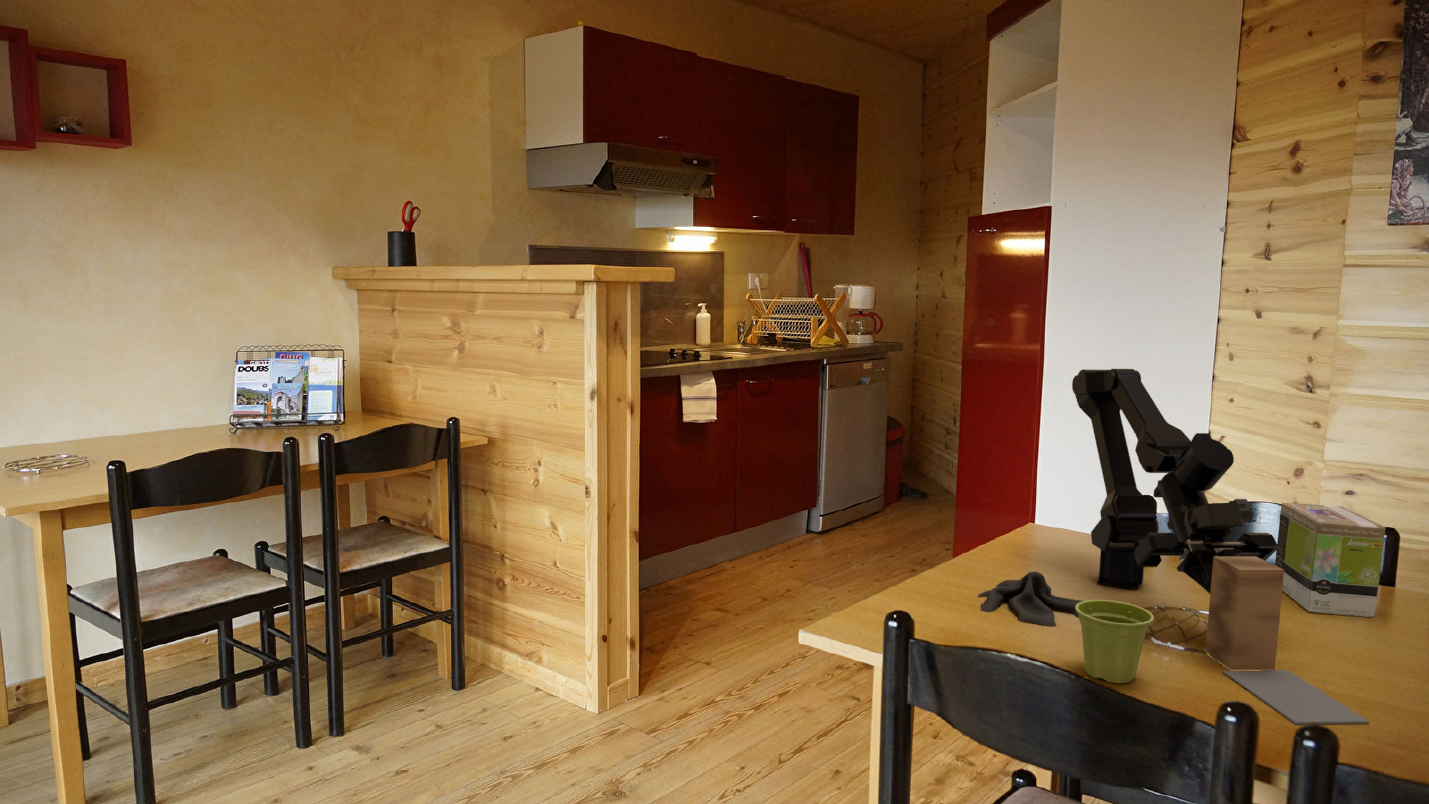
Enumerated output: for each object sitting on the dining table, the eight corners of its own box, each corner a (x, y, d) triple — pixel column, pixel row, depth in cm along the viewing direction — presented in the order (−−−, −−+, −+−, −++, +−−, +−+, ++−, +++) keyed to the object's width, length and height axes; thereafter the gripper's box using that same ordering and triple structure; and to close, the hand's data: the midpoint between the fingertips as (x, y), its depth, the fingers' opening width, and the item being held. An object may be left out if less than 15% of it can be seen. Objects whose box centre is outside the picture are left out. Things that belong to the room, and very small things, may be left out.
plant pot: (1059, 660, 128) (1063, 599, 126) (1125, 659, 128) (1129, 598, 127) (1092, 690, 118) (1096, 624, 117) (1163, 689, 119) (1168, 623, 118)
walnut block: (1205, 653, 131) (1213, 556, 129) (1246, 653, 131) (1255, 556, 129) (1231, 671, 125) (1240, 569, 123) (1274, 671, 125) (1284, 569, 123)
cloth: (1023, 581, 163) (1025, 546, 163) (1118, 613, 148) (1121, 576, 147) (931, 603, 152) (932, 566, 151) (1024, 641, 136) (1026, 600, 135)
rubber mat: (1222, 673, 124) (1222, 670, 124) (1287, 672, 125) (1288, 670, 125) (1295, 724, 110) (1295, 722, 110) (1369, 723, 110) (1369, 721, 110)
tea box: (1378, 619, 146) (1388, 526, 144) (1306, 613, 148) (1315, 522, 146) (1335, 588, 160) (1344, 503, 158) (1270, 583, 162) (1278, 500, 160)
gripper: (1149, 478, 134) (1186, 576, 124) (1276, 478, 135) (1322, 576, 125) (1119, 518, 143) (1152, 613, 133) (1238, 518, 144) (1278, 612, 134)
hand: (1226, 603), depth 131 cm, fingers closed
